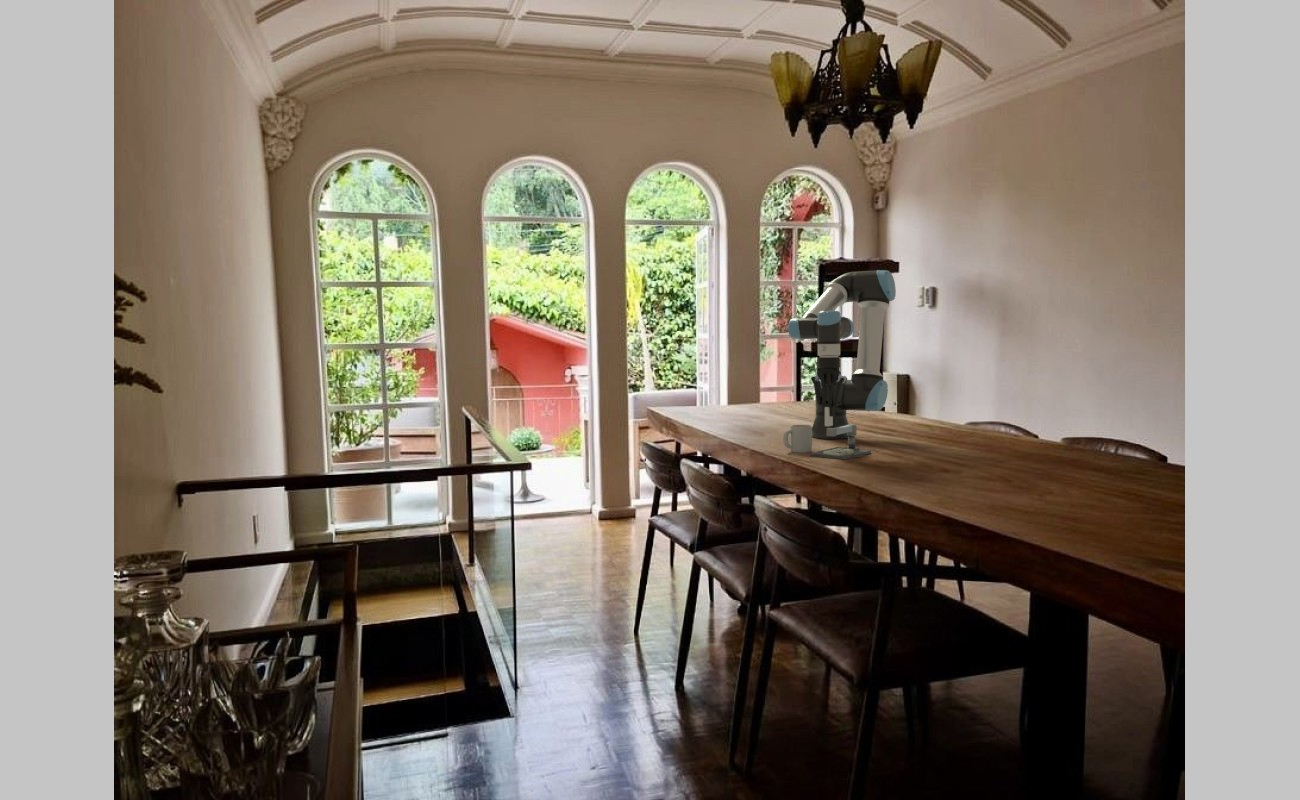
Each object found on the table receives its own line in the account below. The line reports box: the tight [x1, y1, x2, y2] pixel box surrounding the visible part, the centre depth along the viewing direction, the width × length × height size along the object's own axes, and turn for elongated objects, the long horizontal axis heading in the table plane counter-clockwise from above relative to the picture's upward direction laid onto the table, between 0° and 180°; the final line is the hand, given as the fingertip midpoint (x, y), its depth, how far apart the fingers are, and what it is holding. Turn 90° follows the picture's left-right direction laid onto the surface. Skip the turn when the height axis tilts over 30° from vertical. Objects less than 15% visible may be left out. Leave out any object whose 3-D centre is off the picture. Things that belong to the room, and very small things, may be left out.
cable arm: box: [827, 424, 857, 437], centre depth 270 cm, size 15×3×4 cm, turn 136°
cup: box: [782, 424, 813, 454], centre depth 278 cm, size 7×10×9 cm
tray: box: [811, 435, 872, 461], centre depth 270 cm, size 16×13×6 cm
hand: (828, 425), depth 275 cm, fingers closed
